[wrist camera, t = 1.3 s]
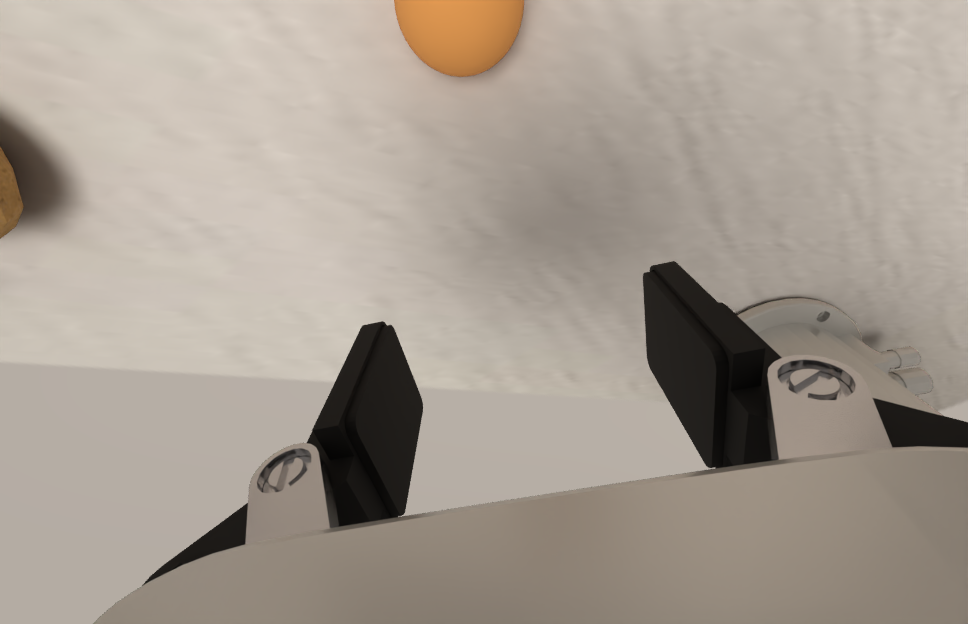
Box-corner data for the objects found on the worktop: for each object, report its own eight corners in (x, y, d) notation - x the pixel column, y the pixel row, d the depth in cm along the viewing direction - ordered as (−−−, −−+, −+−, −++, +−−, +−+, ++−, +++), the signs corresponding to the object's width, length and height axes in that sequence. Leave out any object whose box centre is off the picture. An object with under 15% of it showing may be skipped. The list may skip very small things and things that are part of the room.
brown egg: (506, -79, 20) (514, -132, 15) (528, 61, 23) (541, 56, 18) (389, -44, 21) (359, -83, 16) (424, 88, 24) (408, 92, 19)
